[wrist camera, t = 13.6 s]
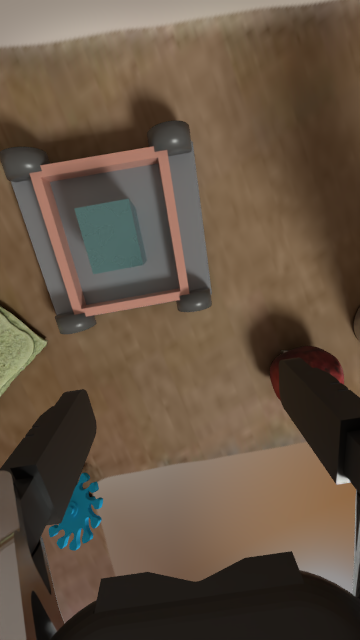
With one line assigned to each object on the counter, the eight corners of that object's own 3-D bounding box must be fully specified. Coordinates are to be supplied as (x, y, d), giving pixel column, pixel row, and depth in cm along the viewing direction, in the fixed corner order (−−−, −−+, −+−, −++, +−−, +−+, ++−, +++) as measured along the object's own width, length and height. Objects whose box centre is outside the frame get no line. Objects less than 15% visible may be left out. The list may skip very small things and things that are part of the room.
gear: (95, 466, 38) (99, 547, 34) (115, 461, 44) (121, 531, 39) (38, 481, 41) (35, 559, 36) (64, 474, 46) (64, 541, 41)
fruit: (276, 329, 35) (319, 361, 26) (331, 347, 37) (390, 383, 27) (251, 381, 38) (281, 428, 28) (303, 396, 39) (348, 446, 30)
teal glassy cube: (135, 207, 28) (128, 198, 22) (147, 260, 29) (143, 264, 24) (92, 215, 28) (74, 208, 22) (106, 268, 29) (93, 274, 24)
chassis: (189, 136, 27) (194, 116, 23) (210, 299, 33) (217, 307, 29) (12, 166, 27) (-16, 152, 23) (65, 325, 33) (51, 337, 29)
